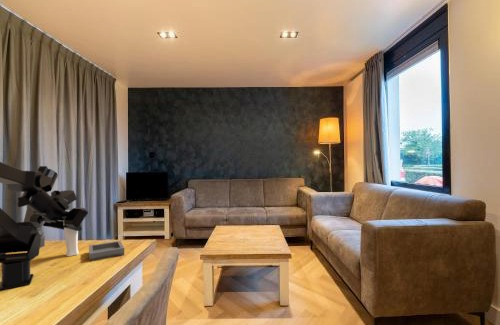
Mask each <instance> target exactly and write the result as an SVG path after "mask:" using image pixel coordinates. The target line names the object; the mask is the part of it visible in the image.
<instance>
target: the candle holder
mask: <svg viewBox="0 0 500 325" xmlns="http://www.w3.org/2000/svg"><path fill="white" fill-rule="evenodd" d="M33 212H34V210H33V209H32V208H31V207H29V206H28V205H26V210H25V215H24V219H23V222H30V217H31V216H32V215H33V214H34V213H33ZM42 218H43V217H42ZM40 220H41V219H40ZM43 224H44V223H43V222H41V225H34V224H33V225H34V226H35V227H37V229H36V230H37V231H38V232H39V234H40V235H41V243H40V248H43V247H45V244H46V243H45V242H46V241H45V236H44V231H42V226H43Z"/></svg>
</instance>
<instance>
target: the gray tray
mask: <svg viewBox="0 0 500 325" xmlns="http://www.w3.org/2000/svg"><path fill="white" fill-rule="evenodd" d="M88 254H89V261H90V262H93V261H98V260H105V259H110V258H115V257H122V256H125V247H124V245H123V243H122V242H121V240H116V241H110V242H103V243H97V244H96V243H95V244H91V245H88Z"/></svg>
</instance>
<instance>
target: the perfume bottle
mask: <svg viewBox="0 0 500 325" xmlns="http://www.w3.org/2000/svg"><path fill="white" fill-rule="evenodd" d="M70 210H71V209H70ZM70 210H68V211H70ZM64 225H65V224H64V220H63V226H64ZM63 232H64V233H63V234H64V239H65V248H66V252H65V256H67V257H71V256H77V255H78V254H79V253H80V252H79V248H78V245H79V244H78V243H79V231H75V230H71V229H67V228H64V230H63Z"/></svg>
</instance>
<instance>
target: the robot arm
mask: <svg viewBox="0 0 500 325" xmlns="http://www.w3.org/2000/svg"><path fill="white" fill-rule="evenodd" d="M57 178H58V172H56V171H55V170H53V169H51V168H48V166H47V165H44V166H43V165H40V166H39V167H38V168H37V170H24V169H23V170H22V169H19V168H18V167H14V166H12V165H10V164H7V163H4V162H2V161H0V183H1V184H3V185H6V188H7V189H8V190H10V191H11V192H13V193H22V195H21V196H19V197H17V201H18V202H17V207H18V208H22V207H27V205H28V206H29V207H31V208H32V209H33V210H34V212H33V213H34V214H33V215H32V216H31V217H30V222H24V221H18V222H17V221H16V220H14V219H13V218H12V217H11V216H10V215H9V214H8V213H7V212H6V211H4V209H3V208H1V207H0V264H1V266H0V267H1V282H0V291H2V290H7V289H12V288H16V287H22V286H28V285H30V284H31V283H32V280H33V278H34V273H31V261H33V259H35V258H37V257H38V256H39V254H40V250H41V249H40V243H41V235H40V234H39V232H38V231H37V230H36V229H37V227H35V226H34V225H41V222H43V225H42V226H43V227H48V228H53V229H56V230H57V229H58V230H63V231H64V228H67V229H71V230H75V231H78V232H81V231H82V225H81V224H82V222H83V221H84V219H85V218H86V217H87V215H88V213H89V211H88V210H87V209H86V207H73V208H72V209H70V211H69V210H68V209H69V208H70V206H69V205H70V204H71V203H73V202H74V201H77V200H78V198H77V195H76V193H75V190H71V189H70V190H67V189H65V190H61V191H60V190H53V189H54V185H55V183H56V181H57ZM52 190H53V191H52ZM49 193H50V194H49ZM42 217H43V218H42ZM40 219H41V220H40ZM63 220H64V224H65V225H64V226H63ZM33 224H34V225H33Z"/></svg>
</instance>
